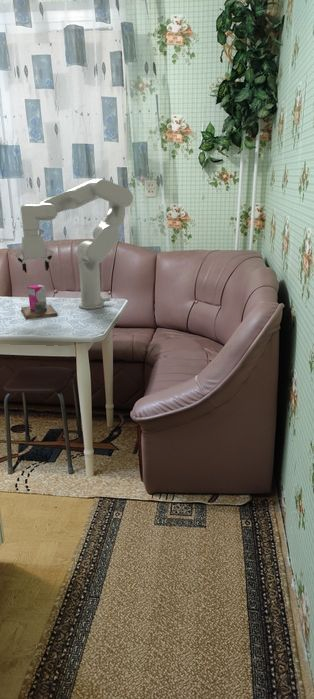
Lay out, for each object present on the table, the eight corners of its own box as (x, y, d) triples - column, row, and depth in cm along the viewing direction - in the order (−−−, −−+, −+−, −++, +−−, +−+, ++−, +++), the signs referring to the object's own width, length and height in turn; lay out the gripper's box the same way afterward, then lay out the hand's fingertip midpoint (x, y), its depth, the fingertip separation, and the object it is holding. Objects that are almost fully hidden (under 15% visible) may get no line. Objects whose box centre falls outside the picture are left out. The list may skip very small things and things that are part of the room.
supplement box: (39, 307, 244) (37, 284, 240) (47, 309, 240) (45, 285, 236) (29, 310, 240) (27, 286, 236) (37, 312, 236) (34, 287, 232)
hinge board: (50, 307, 251) (49, 294, 249) (57, 316, 235) (56, 302, 233) (21, 310, 246) (20, 297, 244) (26, 319, 230) (25, 305, 228)
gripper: (50, 230, 235) (53, 268, 240) (11, 233, 229) (16, 271, 234) (53, 232, 228) (56, 270, 234) (13, 235, 222) (18, 274, 228)
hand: (36, 271), depth 234 cm, fingers open, 9 cm apart
